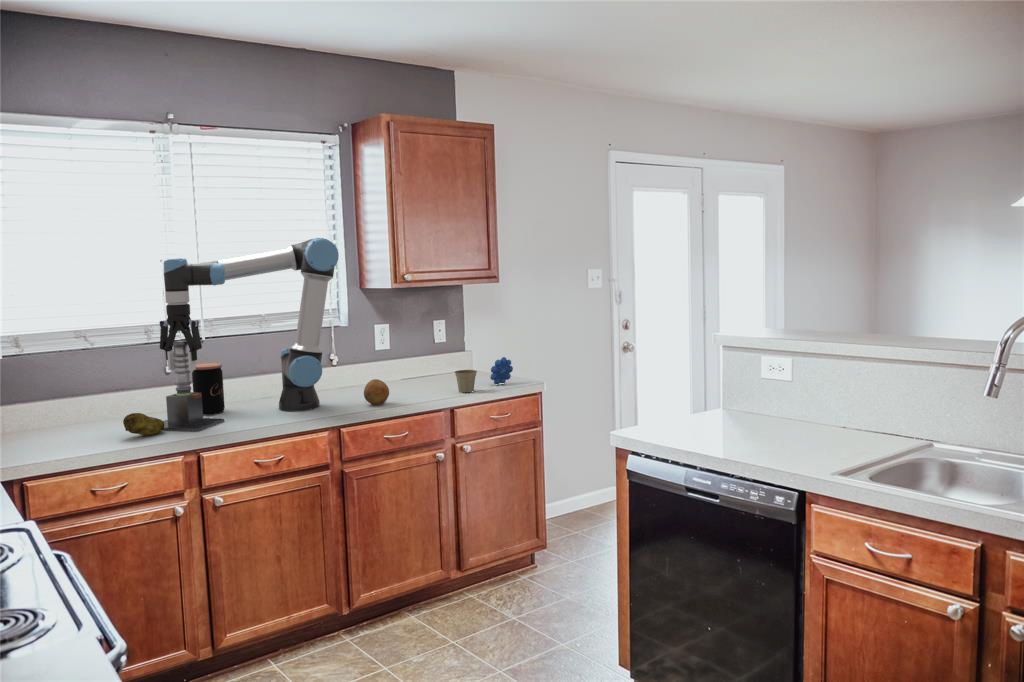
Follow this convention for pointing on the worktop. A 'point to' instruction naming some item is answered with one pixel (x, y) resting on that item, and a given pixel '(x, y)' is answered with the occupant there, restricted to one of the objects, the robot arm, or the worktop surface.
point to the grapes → (501, 371)
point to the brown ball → (376, 392)
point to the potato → (142, 424)
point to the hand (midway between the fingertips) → (182, 369)
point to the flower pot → (466, 380)
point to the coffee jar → (209, 387)
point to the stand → (187, 414)
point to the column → (182, 368)
